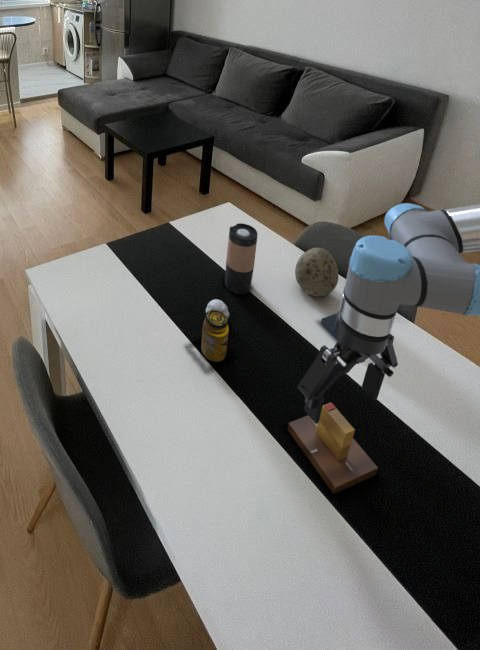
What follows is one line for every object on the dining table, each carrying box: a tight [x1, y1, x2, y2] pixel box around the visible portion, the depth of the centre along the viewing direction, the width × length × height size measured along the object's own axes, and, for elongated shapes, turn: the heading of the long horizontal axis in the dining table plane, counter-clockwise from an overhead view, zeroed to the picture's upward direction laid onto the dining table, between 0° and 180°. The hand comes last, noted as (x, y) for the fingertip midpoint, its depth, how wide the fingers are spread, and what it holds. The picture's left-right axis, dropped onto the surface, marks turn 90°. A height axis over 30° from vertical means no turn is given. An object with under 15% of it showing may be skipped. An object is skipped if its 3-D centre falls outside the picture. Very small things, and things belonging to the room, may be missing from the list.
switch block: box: [320, 312, 338, 341], centre depth 109 cm, size 10×8×4 cm
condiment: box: [200, 310, 230, 363], centre depth 105 cm, size 7×8×12 cm
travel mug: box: [224, 222, 258, 295], centre depth 124 cm, size 8×8×20 cm
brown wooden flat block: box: [287, 414, 379, 495], centre depth 85 cm, size 12×10×3 cm
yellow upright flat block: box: [316, 402, 356, 461], centre depth 83 cm, size 6×2×8 cm, turn 17°
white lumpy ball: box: [205, 298, 230, 320], centre depth 115 cm, size 6×7×7 cm
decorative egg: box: [294, 247, 339, 298], centre depth 121 cm, size 11×11×15 cm
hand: (340, 404), depth 80 cm, fingers open, 13 cm apart
